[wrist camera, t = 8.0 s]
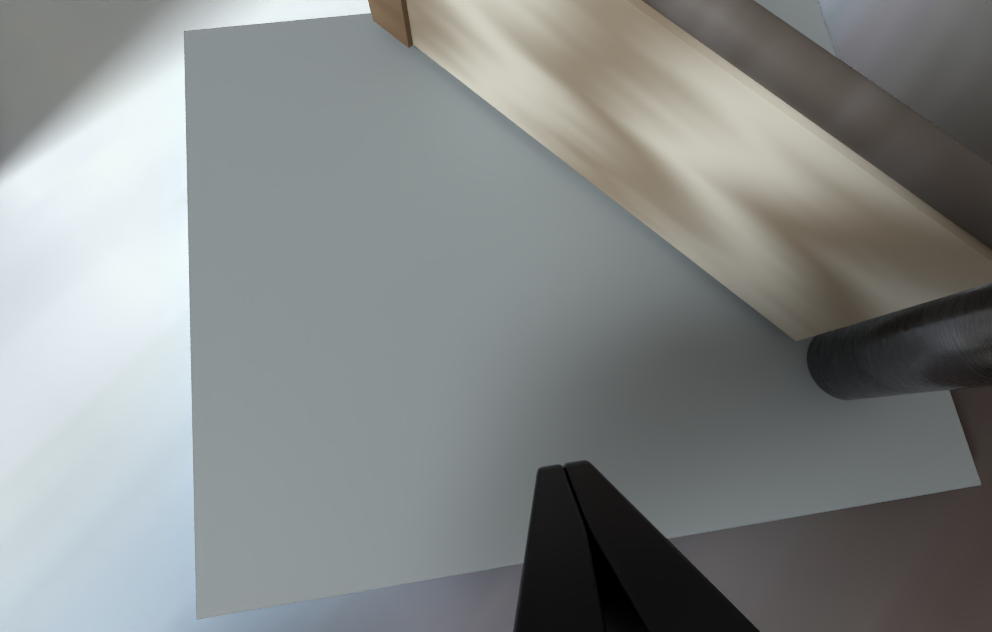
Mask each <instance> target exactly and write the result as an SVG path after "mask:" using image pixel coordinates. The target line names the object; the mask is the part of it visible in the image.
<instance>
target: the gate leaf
mask: <svg viewBox="0 0 992 632" xmlns="http://www.w3.org/2000/svg"><path fill="white" fill-rule="evenodd" d="M368 2H369V6H370V10H371V14H372V18H373V21H374V22H376V23H377V24H378V25H380V26H381V27H382V28H383V29H385V30H386V31H387V32H389V33H390V34H391V35H392V36H394V37H395V38H396V39H398V40H399V41H400V42H401V43H403V44H404V45H405V46H407V47H408V48H410V47H411V46H412V45H414V46H416V47H417V48H418V49H420V50H421V51H422V52H423V53H425V54H426V55H427V56H429V57H430V58H431V59H432V60H434V61H435V62H436V63H438V64H439V65H440V66H441V67H443V68H444V69H445V70H447V71H448V72H449V73H450V74H452V75H453V76H454V77H456V78H457V79H458V80H459V81H461V82H462V83H463V84H465V85H466V86H467V87H469V88H470V89H471V90H472V91H474V92H475V93H476V94H478V95H479V96H480V97H481V98H483V99H484V100H485V101H487V102H488V103H489V104H490V105H492V106H493V107H494V108H496V109H497V110H498V111H499V112H501V113H502V114H503V115H505V116H506V117H507V118H509V119H510V120H511V121H512V122H514V123H515V124H516V125H518V126H519V127H520V128H521V129H523V130H524V131H525V132H527V133H528V134H529V135H530V136H532V137H533V138H534V139H536V140H537V141H538V142H539V143H541V144H542V145H543V146H545V147H546V148H547V149H548V150H550V151H551V152H552V153H554V154H555V155H556V156H558V157H559V158H560V159H561V160H563V161H564V162H565V163H567V164H568V165H569V166H570V167H572V168H573V169H574V170H576V171H577V172H578V173H579V174H581V175H582V176H583V177H585V178H586V179H587V180H588V181H590V182H591V183H592V184H594V185H595V186H596V187H598V188H599V189H600V190H601V191H603V192H604V193H605V194H607V195H608V196H609V197H610V198H612V199H613V200H614V201H616V202H617V203H618V204H619V205H621V206H622V207H623V208H625V209H626V210H627V211H628V212H630V213H631V214H632V215H634V216H635V217H636V218H637V219H639V220H640V221H641V222H643V223H644V224H645V225H647V226H648V227H649V228H650V229H652V230H653V231H654V232H656V233H657V234H658V235H659V236H661V237H662V238H663V239H665V240H666V241H667V242H668V243H670V244H671V245H672V246H674V247H675V248H676V249H677V250H679V251H680V252H681V253H683V254H684V255H685V256H687V257H688V258H689V259H690V260H692V261H693V262H694V263H696V264H697V265H698V266H699V267H701V268H702V269H703V270H705V271H706V272H707V273H708V274H710V275H711V276H712V277H714V278H715V279H716V280H717V281H719V282H720V283H721V284H723V285H724V286H725V287H726V288H728V289H729V290H730V291H732V292H733V293H734V294H736V295H737V296H738V297H739V298H741V299H742V300H743V301H745V302H746V303H747V304H748V305H750V306H751V307H752V308H754V309H755V310H756V311H757V312H759V313H760V314H761V315H763V316H764V317H765V318H766V319H768V320H769V321H770V322H772V323H773V324H774V325H775V326H777V327H778V328H779V329H781V330H782V331H783V332H785V333H786V334H787V335H788V336H790V337H791V338H792V339H794V340H795V341H799V340H802V339H806V338H809V337H812V336H816V335H819V334H822V333H826V332H829V331H832V330H836V329H839V328H842V327H846V326H849V325H852V324H856V323H859V322H862V321H866V320H869V319H872V318H875V317H879V316H882V315H885V314H889V313H892V312H895V311H899V310H902V309H905V308H909V307H912V306H915V305H919V304H922V303H925V302H929V301H932V300H935V299H939V298H942V297H945V296H949V295H952V294H955V293H959V292H962V291H965V290H969V289H972V288H975V287H978V286H982V285H985V284H988V283H992V164H990V163H989V162H987V161H986V160H985V159H983V158H982V157H980V156H979V155H977V154H976V153H974V152H973V151H972V150H970V149H969V148H967V147H966V146H964V145H963V144H961V143H960V142H959V141H957V140H956V139H954V138H953V137H951V136H950V135H948V134H947V133H945V132H944V131H943V130H941V129H940V128H938V127H937V126H935V125H934V124H932V123H931V122H930V121H928V120H927V119H925V118H924V117H922V116H921V115H919V114H918V113H917V112H915V111H914V110H912V109H911V108H909V107H908V106H906V105H905V104H903V103H902V102H901V101H899V100H898V99H896V98H895V97H893V96H892V95H890V94H889V93H888V92H886V91H885V90H883V89H882V88H880V87H879V86H877V85H876V84H875V83H873V82H872V81H870V80H869V79H867V78H866V77H864V76H863V75H861V74H860V73H859V72H857V71H856V70H854V69H853V68H851V67H850V66H848V65H847V64H846V63H844V62H843V61H841V60H840V59H838V58H837V57H835V56H834V55H832V54H831V53H830V52H828V51H827V50H825V49H824V48H822V47H821V46H819V45H818V44H817V43H815V42H814V41H812V40H811V39H809V38H808V37H806V36H805V35H804V34H802V33H801V32H799V31H798V30H796V29H795V28H793V27H792V26H790V25H789V24H788V23H786V22H785V21H783V20H782V19H780V18H779V17H777V16H776V15H775V14H773V13H772V12H770V11H769V10H767V9H766V8H764V7H763V6H762V5H760V4H759V3H757V2H756V1H754V0H368Z"/></svg>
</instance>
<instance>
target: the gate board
mask: <svg viewBox="0 0 992 632" xmlns="http://www.w3.org/2000/svg"><path fill="white" fill-rule="evenodd" d="M754 1H756V2H757V3H759V4H760V5H762V6H763V7H764V8H766V9H767V10H769V11H770V12H772V13H773V14H775V15H776V16H777V17H779V18H780V19H782V20H783V21H785V22H786V23H788V24H789V25H790V26H792V27H793V28H795V29H796V30H798V31H799V32H801V33H802V34H804V35H805V36H806V37H808V38H809V39H811V40H812V41H814V42H815V43H817V44H818V45H819V46H821V47H822V48H824V49H825V50H827V51H828V52H830V53H831V54H832V55H834V56H835V57H837V56H836V54H835V51H834V48H833V45H832V42H831V39H830V36H829V33H828V30H827V27H826V24H825V21H824V18H823V15H822V12H821V9H820V6H819V3H818V0H754ZM184 53H185V100H186V147H187V194H188V241H189V288H190V335H191V382H192V429H193V476H194V523H195V570H196V617H197V619H203V618H208V617H214V616H220V615H226V614H232V613H238V612H243V611H249V610H255V609H261V608H267V607H273V606H278V605H284V604H290V603H296V602H302V601H308V600H313V599H319V598H325V597H331V596H337V595H343V594H348V593H354V592H360V591H366V590H372V589H378V588H383V587H389V586H395V585H401V584H407V583H413V582H418V581H424V580H430V579H436V578H442V577H448V576H453V575H459V574H465V573H471V572H477V571H483V570H488V569H494V568H500V567H506V566H512V565H517V564H523V562H524V555H525V548H526V542H527V535H528V528H529V521H530V515H531V508H532V501H533V494H534V488H535V481H536V474H537V470H538V468H539V467H543V466H549V465H555V464H560V465H562V466H563V465H564V464H565V463H568V462H574V461H580V460H587V461H589V462H590V463H591V464H592V465H593V466H594V467H595V468H596V469H597V470H598V471H599V472H600V473H601V474H602V475H603V476H604V477H605V478H606V479H607V480H609V481H610V482H611V483H612V484H613V485H614V486H615V487H616V488H617V489H618V490H619V491H620V492H621V493H622V494H623V495H624V496H625V497H626V498H627V499H628V500H629V501H630V502H631V503H632V504H633V505H634V506H635V507H636V508H637V509H638V510H639V511H640V512H641V513H642V514H643V515H644V516H645V517H646V518H647V519H648V520H649V521H650V522H651V523H652V524H653V525H654V526H655V527H656V528H657V529H658V530H659V531H660V532H661V533H662V534H663V535H664V536H665V537H666V538H667V539H669V538H675V537H681V536H687V535H692V534H698V533H704V532H710V531H716V530H722V529H727V528H733V527H739V526H745V525H751V524H757V523H762V522H768V521H774V520H780V519H786V518H792V517H797V516H803V515H809V514H815V513H821V512H827V511H832V510H838V509H844V508H850V507H856V506H862V505H867V504H873V503H879V502H885V501H891V500H896V499H902V498H908V497H914V496H920V495H926V494H931V493H937V492H943V491H949V490H955V489H961V488H966V487H972V486H978V485H981V482H980V479H979V476H978V473H977V470H976V467H975V464H974V461H973V458H972V455H971V452H970V449H969V446H968V444H967V441H966V438H965V435H964V432H963V429H962V426H961V423H960V420H959V417H958V414H957V411H956V408H955V405H954V402H953V399H952V396H951V393H950V390H954V389H964V388H974V387H984V386H992V283H988V284H985V285H982V286H978V287H975V288H972V289H969V290H965V291H962V292H959V293H955V294H952V295H949V296H945V297H942V298H939V299H935V300H932V301H929V302H925V303H922V304H919V305H915V306H912V307H909V308H905V309H902V310H899V311H895V312H892V313H889V314H885V315H882V316H879V317H875V318H872V319H869V320H866V321H862V322H859V323H856V324H852V325H849V326H846V327H842V328H839V329H836V330H832V331H829V332H826V333H822V334H819V335H816V336H812V337H809V338H806V339H802V340H799V341H795V340H794V339H792V338H791V337H790V336H788V335H787V334H786V333H785V332H783V331H782V330H781V329H779V328H778V327H777V326H775V325H774V324H773V323H772V322H770V321H769V320H768V319H766V318H765V317H764V316H763V315H761V314H760V313H759V312H757V311H756V310H755V309H754V308H752V307H751V306H750V305H748V304H747V303H746V302H745V301H743V300H742V299H741V298H739V297H738V296H737V295H736V294H734V293H733V292H732V291H730V290H729V289H728V288H726V287H725V286H724V285H723V284H721V283H720V282H719V281H717V280H716V279H715V278H714V277H712V276H711V275H710V274H708V273H707V272H706V271H705V270H703V269H702V268H701V267H699V266H698V265H697V264H696V263H694V262H693V261H692V260H690V259H689V258H688V257H687V256H685V255H684V254H683V253H681V252H680V251H679V250H677V249H676V248H675V247H674V246H672V245H671V244H670V243H668V242H667V241H666V240H665V239H663V238H662V237H661V236H659V235H658V234H657V233H656V232H654V231H653V230H652V229H650V228H649V227H648V226H647V225H645V224H644V223H643V222H641V221H640V220H639V219H637V218H636V217H635V216H634V215H632V214H631V213H630V212H628V211H627V210H626V209H625V208H623V207H622V206H621V205H619V204H618V203H617V202H616V201H614V200H613V199H612V198H610V197H609V196H608V195H607V194H605V193H604V192H603V191H601V190H600V189H599V188H598V187H596V186H595V185H594V184H592V183H591V182H590V181H588V180H587V179H586V178H585V177H583V176H582V175H581V174H579V173H578V172H577V171H576V170H574V169H573V168H572V167H570V166H569V165H568V164H567V163H565V162H564V161H563V160H561V159H560V158H559V157H558V156H556V155H555V154H554V153H552V152H551V151H550V150H548V149H547V148H546V147H545V146H543V145H542V144H541V143H539V142H538V141H537V140H536V139H534V138H533V137H532V136H530V135H529V134H528V133H527V132H525V131H524V130H523V129H521V128H520V127H519V126H518V125H516V124H515V123H514V122H512V121H511V120H510V119H509V118H507V117H506V116H505V115H503V114H502V113H501V112H499V111H498V110H497V109H496V108H494V107H493V106H492V105H490V104H489V103H488V102H487V101H485V100H484V99H483V98H481V97H480V96H479V95H478V94H476V93H475V92H474V91H472V90H471V89H470V88H469V87H467V86H466V85H465V84H463V83H462V82H461V81H459V80H458V79H457V78H456V77H454V76H453V75H452V74H450V73H449V72H448V71H447V70H445V69H444V68H443V67H441V66H440V65H439V64H438V63H436V62H435V61H434V60H432V59H431V58H430V57H429V56H427V55H426V54H425V53H423V52H422V51H421V50H420V49H418V48H417V47H416V46H414V45H412V46H411V47H410V48H408V47H407V46H405V45H404V44H403V43H401V42H400V41H399V40H398V39H396V38H395V37H394V36H392V35H391V34H390V33H389V32H387V31H386V30H385V29H383V28H382V27H381V26H380V25H378V24H377V23H376V22H374V21H373V18H372V14H371V13H370V14H360V15H349V16H339V17H328V18H317V19H307V20H296V21H286V22H275V23H265V24H254V25H243V26H233V27H222V28H212V29H201V30H191V31H184Z"/></svg>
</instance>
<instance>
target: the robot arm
mask: <svg viewBox="0 0 992 632" xmlns="http://www.w3.org/2000/svg"><path fill="white" fill-rule="evenodd" d="M513 632H760V631H759V630H758V629H757V628H756V627H755V626H754V625H753V624H752V623H751V622H750V621H749V620H748V619H747V618H746V617H745V616H744V615H743V614H742V613H741V612H740V611H739V610H738V609H737V608H736V607H735V606H734V605H733V604H732V603H731V602H730V601H729V600H728V599H727V598H726V597H725V596H724V595H723V594H722V593H721V592H720V591H719V590H718V589H717V588H716V587H715V586H714V585H713V584H712V583H711V582H710V581H709V580H708V579H707V578H706V577H705V576H704V575H703V574H702V573H701V572H700V571H699V570H698V569H697V568H696V567H695V566H694V565H693V564H692V563H691V562H690V561H689V560H688V559H687V558H686V557H685V556H684V555H683V554H682V553H681V552H680V551H679V550H678V549H677V548H676V547H675V546H674V545H673V544H672V543H671V542H670V541H669V540H668V539H667V538H666V537H665V536H664V535H663V534H662V533H661V532H660V531H659V530H658V529H657V528H656V527H655V526H654V525H653V524H652V523H651V522H650V521H649V520H648V519H647V518H646V517H645V516H644V515H643V514H642V513H641V512H640V511H639V510H638V509H637V508H636V507H635V506H634V505H633V504H632V503H631V502H630V501H629V500H628V499H627V498H626V497H625V496H624V495H623V494H622V493H621V492H620V491H619V490H618V489H617V488H616V487H615V486H614V485H613V484H612V483H611V482H610V481H609V480H607V479H606V478H605V477H604V476H603V475H602V474H601V473H600V472H599V471H598V470H597V469H596V468H595V467H594V466H593V465H592V464H591V463H590V462H589V461H587V460H580V461H574V462H568V463H565V464H564V465H563V466H562V465H560V464H555V465H549V466H543V467H539V468H538V470H537V474H536V481H535V488H534V494H533V501H532V508H531V515H530V521H529V528H528V535H527V542H526V548H525V555H524V562H523V569H522V575H521V582H520V589H519V596H518V602H517V609H516V616H515V623H514V629H513Z"/></svg>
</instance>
